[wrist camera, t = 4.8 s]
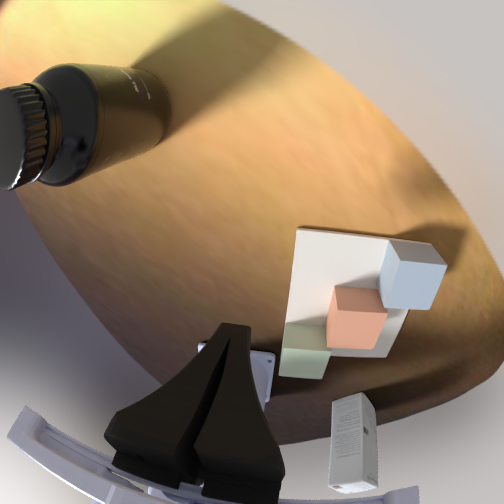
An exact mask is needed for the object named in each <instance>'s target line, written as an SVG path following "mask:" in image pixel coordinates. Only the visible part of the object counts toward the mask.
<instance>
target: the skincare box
mask: <svg viewBox="0 0 504 504" xmlns="http://www.w3.org/2000/svg"><path fill="white" fill-rule="evenodd" d="M377 452H378V451H377V433H376V416H375V409H374V407H373V405H372V404H371V402H370V401H369V399H368V398H367V397H366V396H365V394H364V393H362V392H360V393H357V394H353V395H350V396H346V397H343V398H340V399H337V400H335V401H333V402H332V429H331V449H330V465H329V477H328V486H329V487H330V488H333V489H335V490H336V491H338V492H343V493H345V494H351V493H356V492H361V491H366V490H370V489H374V488H377V487H378V453H377Z"/></svg>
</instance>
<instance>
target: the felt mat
mask: <svg viewBox="0 0 504 504" xmlns="http://www.w3.org/2000/svg"><path fill="white" fill-rule="evenodd" d="M389 240H393V241H401V242H409V243H417V244H425V245H432V244H431V243H426V242H418V241H411V240H403V239H395V238H387V237H379V236H370V235H362V234H353V233H344V232H335V231H326V230H316V229H306V228H297V233H296V242H295V251H294V260H293V268H292V277H291V285H290V292H289V300H288V308H287V315H286V322H285V323H292V324H302V325H314V326H326V325H325V322H326V318H327V314H328V310H329V306H330V302H331V298H332V293H333V289H334V286H343V287H354V288H367V289H378V288H377V285H376V284H377V280H378V277H379V274H380V270H381V267H382V263H383V260H384V256H385V253H386V249H387V245H388V241H389ZM408 310H409V309H395V308H387V311H388V315H387V318H386V320H385V323H384V325H383V328H382V330H381V332H380V335H379V337H378V339H377V341H376V344H375V346H374V348H373V349H348V348H331V355H330V356H345V357H381V358H386V356H387V355H388V353H389V351H390V349H391V347H392V345H393V343H394V341H395V339H396V336H397V334H398V332H399V330H400V328H401V326H402V324H403V321H404V319H405V317H406V315H407V312H408ZM284 330H285V329H284ZM283 337H284V336H283ZM282 344H283V343H282ZM281 350H282V349H281Z"/></svg>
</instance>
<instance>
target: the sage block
mask: <svg viewBox="0 0 504 504" xmlns="http://www.w3.org/2000/svg"><path fill="white" fill-rule="evenodd" d="M330 355H331V348H330V347H327V341H326V326H314V325H302V324H292V323H285V330H284V337H283V344H282V350H281V359H280V367H279V376H286V377H298V378H311V379H322V377H323V374H324V372H325V369H326V366H327V363H328V360H329V357H330Z"/></svg>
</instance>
